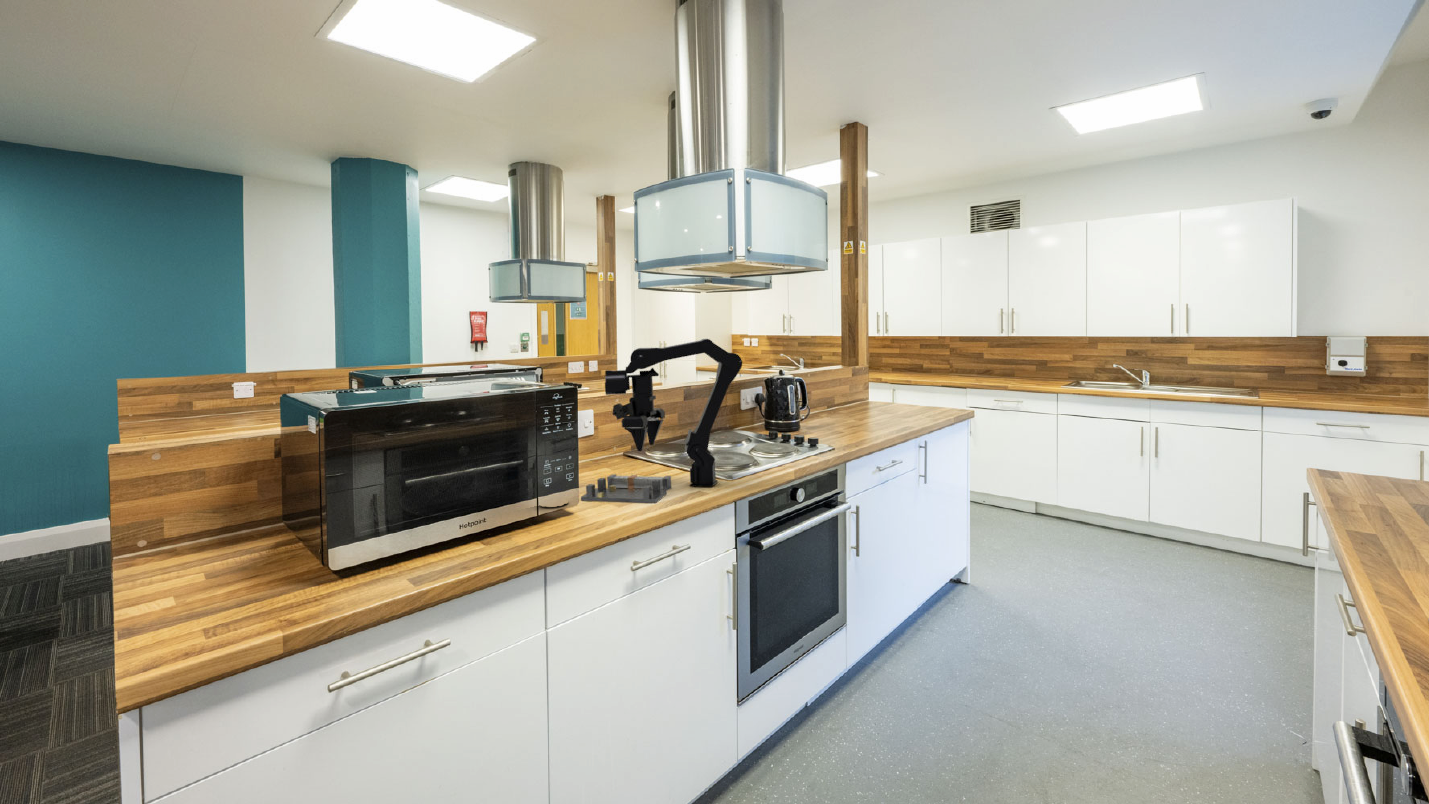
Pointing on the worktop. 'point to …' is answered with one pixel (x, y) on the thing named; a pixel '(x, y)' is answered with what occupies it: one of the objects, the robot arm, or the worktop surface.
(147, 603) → the worktop surface
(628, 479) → the tube
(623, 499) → the cradle
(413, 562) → the worktop surface
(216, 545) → the worktop surface
